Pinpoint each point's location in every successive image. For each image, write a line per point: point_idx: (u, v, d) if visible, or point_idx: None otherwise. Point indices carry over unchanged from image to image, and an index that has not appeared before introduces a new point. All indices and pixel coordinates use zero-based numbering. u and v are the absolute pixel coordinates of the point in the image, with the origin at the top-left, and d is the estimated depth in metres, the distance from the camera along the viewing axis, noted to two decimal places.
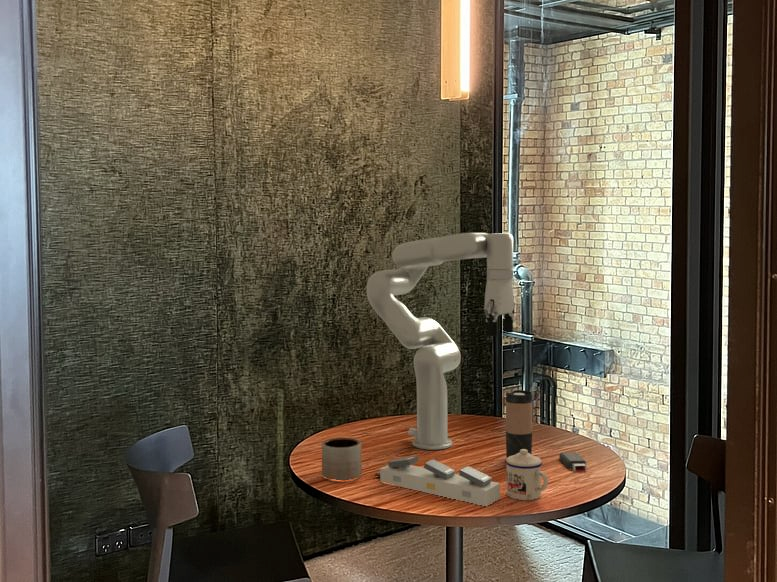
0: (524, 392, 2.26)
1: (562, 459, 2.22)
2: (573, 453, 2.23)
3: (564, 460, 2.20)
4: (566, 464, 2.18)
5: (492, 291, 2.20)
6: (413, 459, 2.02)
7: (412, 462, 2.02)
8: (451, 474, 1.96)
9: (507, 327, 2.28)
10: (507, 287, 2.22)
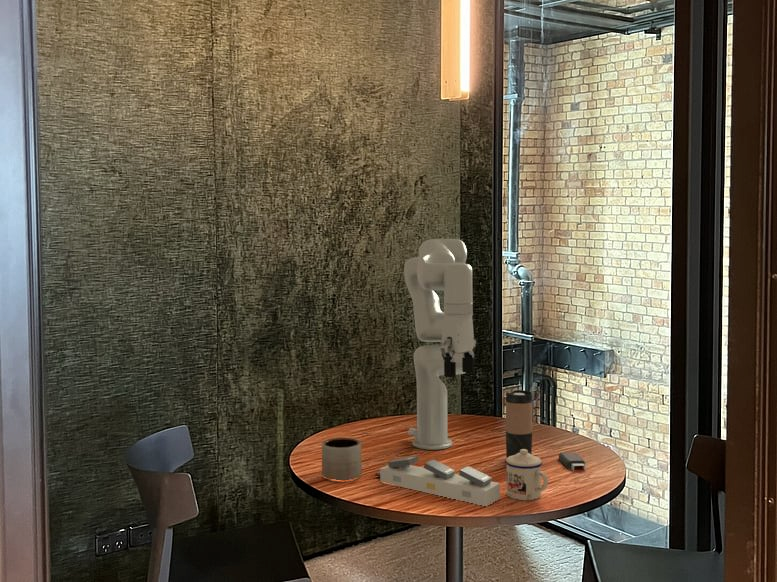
0: (524, 392, 2.26)
1: (561, 459, 2.22)
2: (572, 453, 2.23)
3: (563, 460, 2.20)
4: (565, 464, 2.18)
5: (449, 328, 2.00)
6: (413, 459, 2.02)
7: (412, 462, 2.02)
8: (451, 474, 1.96)
9: (467, 367, 2.08)
10: (466, 323, 2.02)
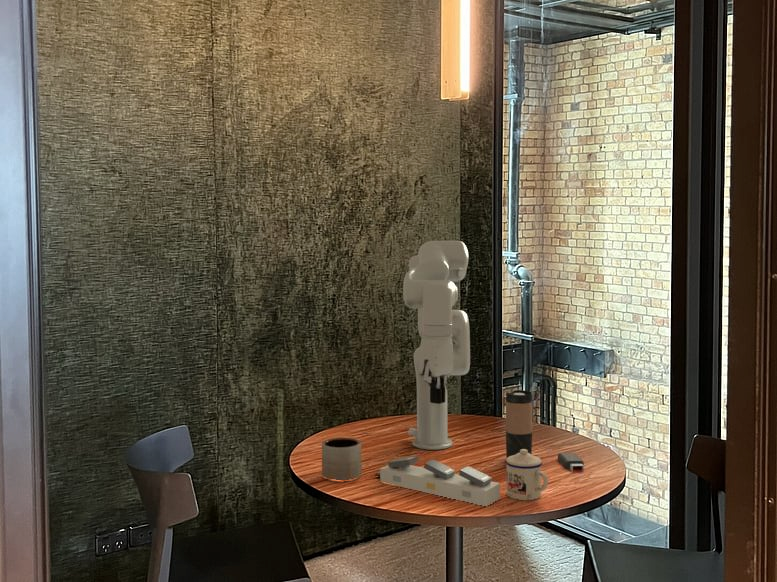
0: (524, 392, 2.26)
1: (560, 459, 2.22)
2: (571, 453, 2.23)
3: (562, 460, 2.20)
4: (564, 464, 2.18)
5: (427, 350, 1.91)
6: (413, 459, 2.02)
7: (412, 462, 2.02)
8: (451, 474, 1.96)
9: None
10: (445, 345, 1.94)
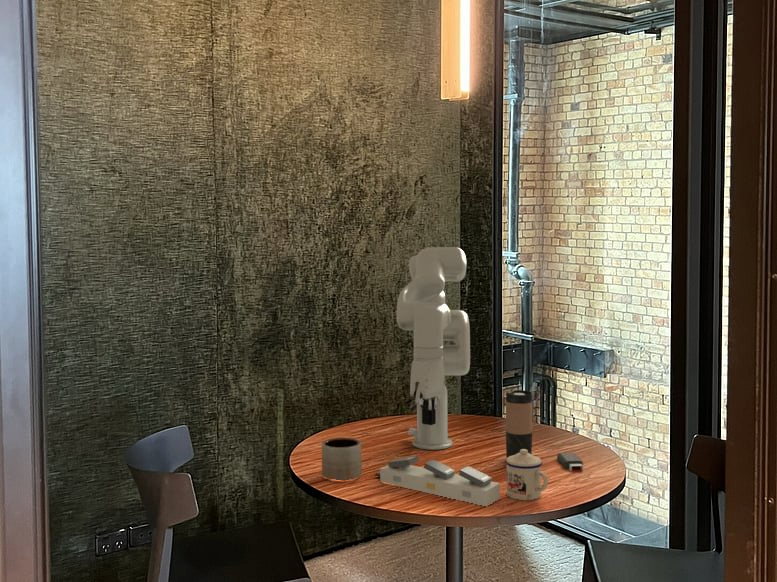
0: (524, 392, 2.26)
1: (559, 459, 2.22)
2: (571, 453, 2.23)
3: (561, 460, 2.20)
4: (563, 464, 2.18)
5: (418, 372, 1.93)
6: (413, 459, 2.02)
7: (412, 462, 2.02)
8: (451, 474, 1.96)
9: None
10: (436, 367, 1.96)
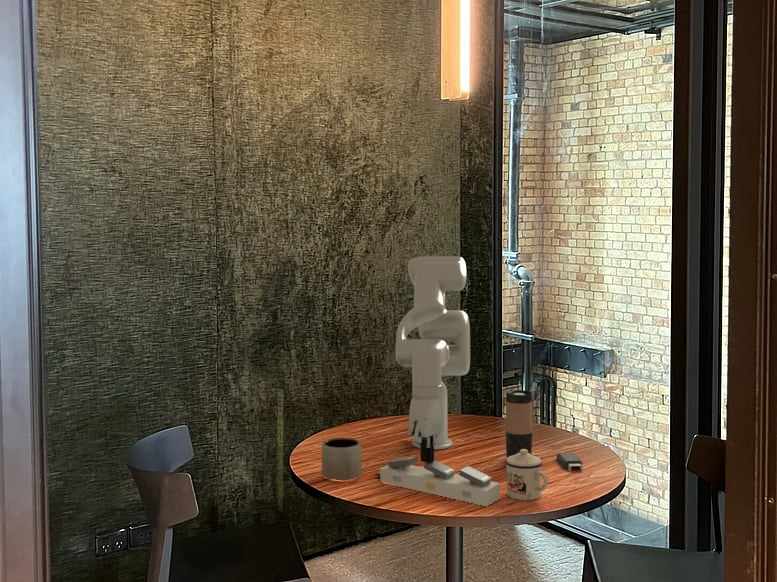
0: (524, 392, 2.26)
1: (559, 459, 2.22)
2: (570, 453, 2.23)
3: (560, 460, 2.20)
4: (562, 464, 2.18)
5: (416, 411, 1.94)
6: (413, 459, 2.02)
7: (412, 462, 2.02)
8: (451, 474, 1.96)
9: None
10: (434, 406, 1.97)
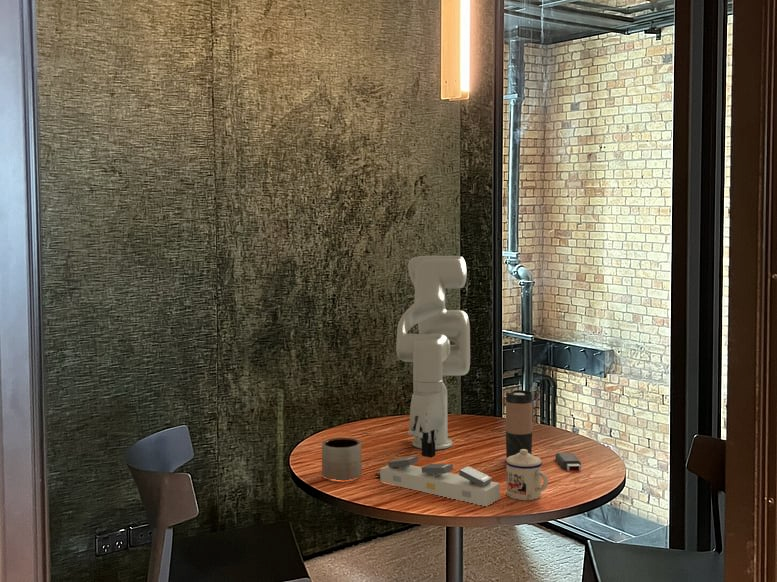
0: (524, 392, 2.26)
1: (557, 459, 2.22)
2: (569, 453, 2.23)
3: (559, 460, 2.20)
4: (561, 464, 2.18)
5: (417, 407, 1.94)
6: (413, 459, 2.02)
7: (412, 462, 2.02)
8: (449, 468, 1.96)
9: None
10: (436, 401, 1.97)
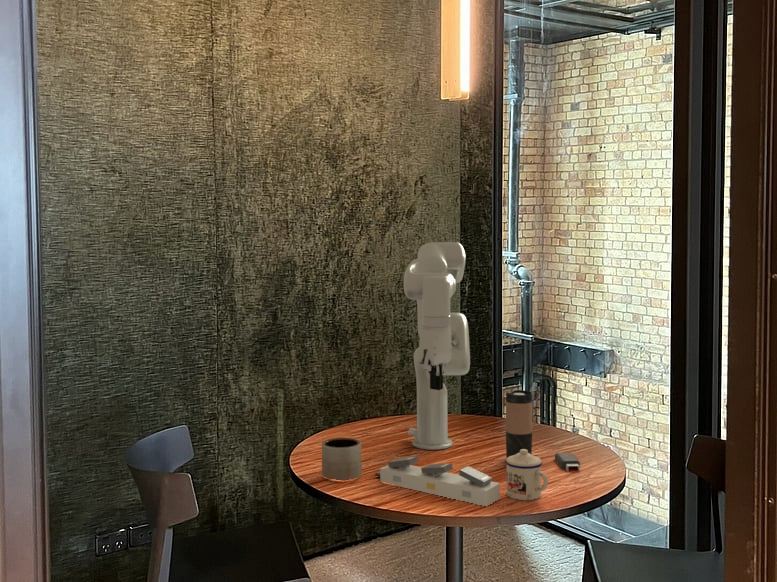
0: (524, 392, 2.26)
1: (557, 459, 2.22)
2: (568, 453, 2.23)
3: (558, 460, 2.20)
4: (560, 464, 2.18)
5: (426, 340, 2.02)
6: (413, 459, 2.02)
7: (412, 462, 2.02)
8: (448, 467, 1.96)
9: None
10: (443, 335, 2.04)
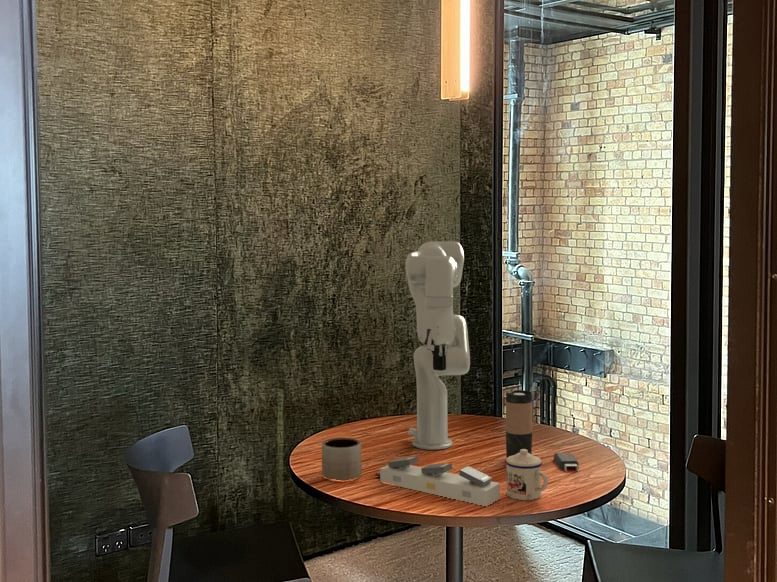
0: (524, 392, 2.26)
1: (556, 459, 2.22)
2: (567, 453, 2.23)
3: (557, 460, 2.20)
4: (558, 464, 2.18)
5: (429, 320, 2.05)
6: (413, 459, 2.02)
7: (412, 462, 2.02)
8: (448, 467, 1.96)
9: None
10: (446, 316, 2.07)
